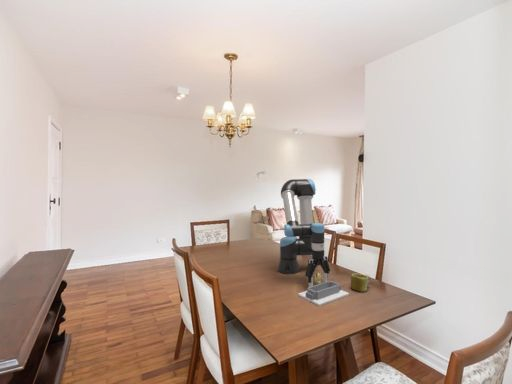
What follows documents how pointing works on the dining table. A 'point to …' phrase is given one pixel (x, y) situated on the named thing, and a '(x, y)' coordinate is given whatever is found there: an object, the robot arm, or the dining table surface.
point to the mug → (359, 282)
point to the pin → (317, 278)
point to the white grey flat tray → (323, 293)
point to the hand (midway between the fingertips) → (318, 285)
